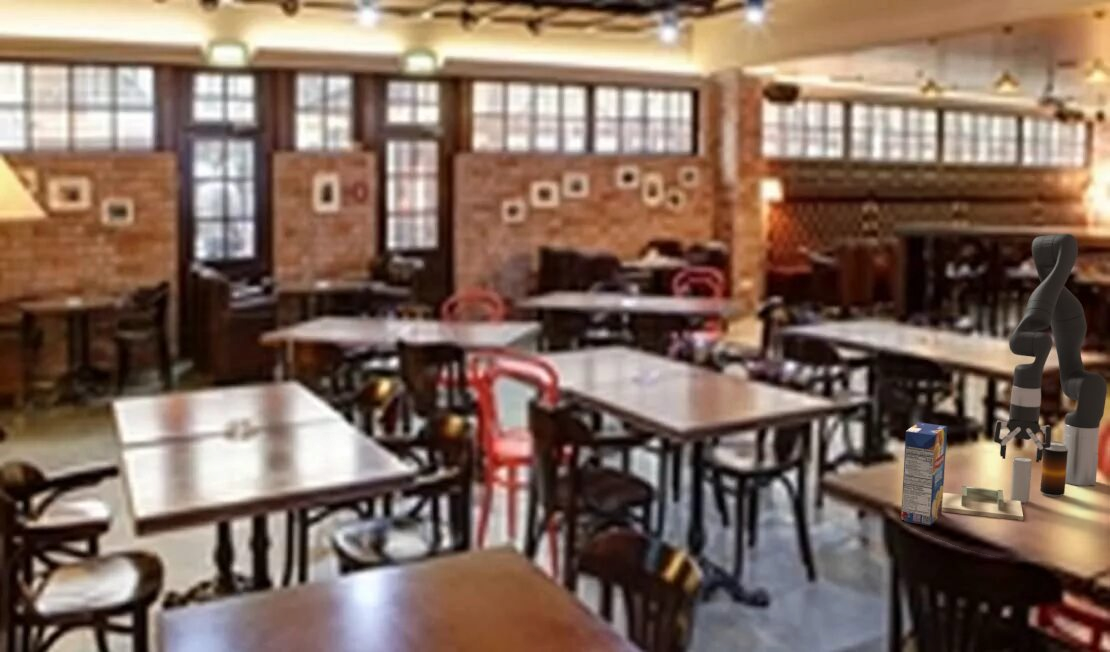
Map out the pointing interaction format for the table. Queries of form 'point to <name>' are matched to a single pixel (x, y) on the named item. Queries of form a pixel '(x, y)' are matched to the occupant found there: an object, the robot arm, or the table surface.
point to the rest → (982, 503)
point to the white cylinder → (1021, 479)
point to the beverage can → (1054, 469)
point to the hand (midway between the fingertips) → (1020, 460)
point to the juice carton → (923, 473)
